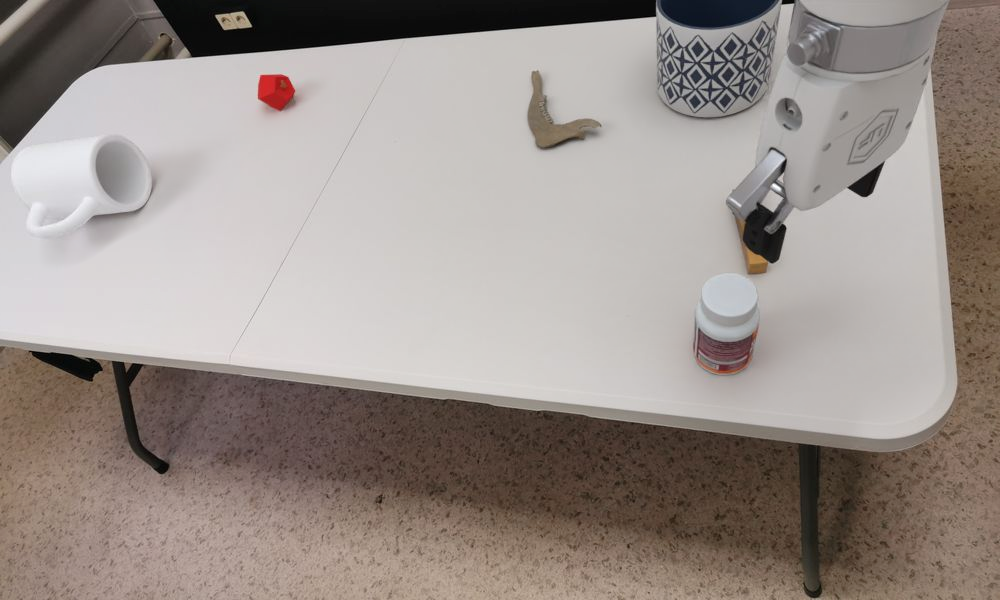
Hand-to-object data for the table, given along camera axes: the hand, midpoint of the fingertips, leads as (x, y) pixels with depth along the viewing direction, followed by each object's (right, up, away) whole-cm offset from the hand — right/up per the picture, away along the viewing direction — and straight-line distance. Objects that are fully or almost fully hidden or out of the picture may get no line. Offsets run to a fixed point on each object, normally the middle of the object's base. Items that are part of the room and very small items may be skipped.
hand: (806, 218), depth 49 cm
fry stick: (+6, +2, +27) cm, 28 cm away
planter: (+8, +26, +44) cm, 52 cm away
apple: (-65, +31, +67) cm, 99 cm away
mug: (-94, +8, +59) cm, 111 cm away
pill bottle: (0, -12, +19) cm, 23 cm away
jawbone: (-14, +24, +49) cm, 56 cm away
